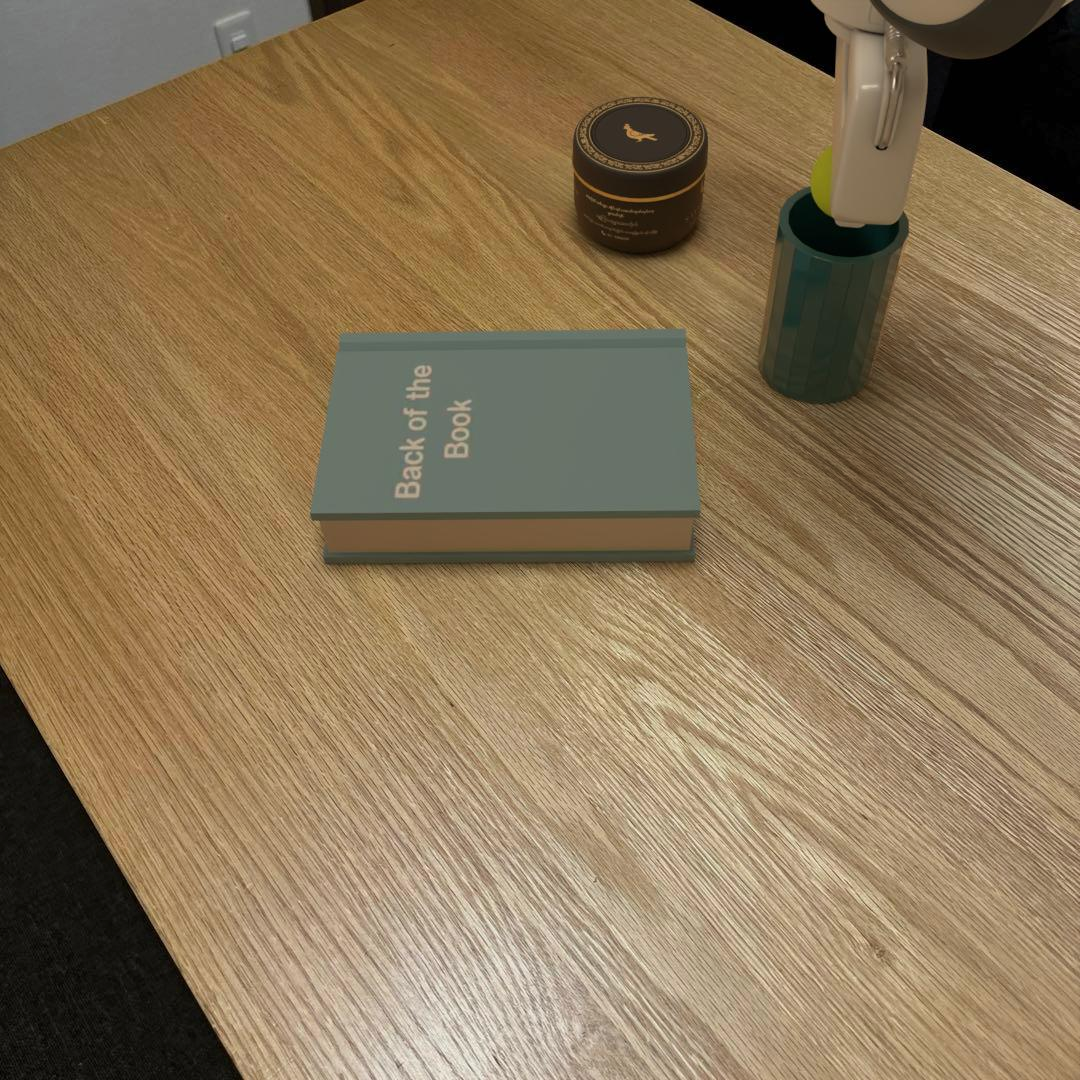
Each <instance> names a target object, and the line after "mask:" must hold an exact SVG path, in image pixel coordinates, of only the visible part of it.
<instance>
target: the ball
mask: <svg viewBox="0 0 1080 1080" xmlns="http://www.w3.org/2000/svg"><path fill="white" fill-rule="evenodd" d="M831 170H832V145H829V146H828V147H827V148H826V149H825V150H824V151H822V152H821V154H820V155H819V156H818V158H817V159H816V161H815V163H814V164H813V167H812V169H811V174H810V180H809V181H810V183H809V184H810V185H809V186H811V192H812V196H813V198H814V200H815V202H816V204H817V205H818V207H819V208H820V209H821V210H822V211H823V212H824V213H826V214H827V215H829V216H831V217H832V215H831V211H830V195H831Z"/></svg>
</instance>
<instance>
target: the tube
mask: <svg viewBox="0 0 1080 1080" xmlns="http://www.w3.org/2000/svg"><path fill="white" fill-rule="evenodd" d="M904 210H905V209H904ZM904 210H903V212H902V214H901V216H900V218H899V219H898V220H897V221H896V222H895V223H893V224H890V225H876V224H865V225H864V226H862V227H859V228H854V227H842V226H839V225H837V224H836V222H835V219H834V218H833V217H831V216H829V215H827V214H826V213H824V212H823V211H822V210H821V209H820V208H819V207H818V205H817V204H816V202H815V200H814V198H813V196H812V192H811V185H809V186H807V187H804V188H801V189H799V190H797V191H795V192H794V193H793V194H792V195H790V196H789V197H788V198H787V199H786V200H785V201H784V203H783V204H782V206H781V208H780V209H779V212H778V219H777V226H776V232H775V238H774V244H773V251H772V258H771V265H770V269H769V277H768V283H767V290H766V296H765V303H764V309H763V317H762V322H761V329H760V336H759V343H758V351H757V366H758V369H759V373H760V375H761V376H762V377H763V379H764V380H765V382H766V383H767V384H768V385H769V386H770V387H771V388H772V389H774V390H775V391H776V392H778V393H780V394H781V395H784V396H785V397H787V398H790V399H792V400H795V401H798V402H803V403H808V404H819V405H820V404H832V403H837V402H841V401H844V400H847V399H850V398H851V397H853V396H855V395H857V394H858V393H860V392H861V390H863V389H864V388H865V387H866V385H867V384H868V382H869V381H870V379H871V376H872V373H873V371H874V367H875V363H876V360H877V356H878V352H879V348H880V345H881V341H882V337H883V334H884V330H885V326H886V321H887V318H888V314H889V311H890V307H891V303H892V299H893V295H894V292H895V289H896V284H897V281H898V277H899V273H900V269H901V265H902V262H903V258H904V254H905V250H906V246H907V244H908V243H907V242H908V239H909V235H910V221H909V218H908V216H907V214H906V212H905V211H904Z"/></svg>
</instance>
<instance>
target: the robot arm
mask: <svg viewBox="0 0 1080 1080" xmlns="http://www.w3.org/2000/svg"><path fill="white" fill-rule="evenodd" d="M810 2H811V3H812V4H813V5H814V6H815V7H816V8H817V9H818V10H819V11H820V12H822V13H823V14H824V21H825V25H826V27H827V29H829V30H830V32H831V33H832V34H833V35H834V36H836V43H835V44H836V45H835V46H836V47H835V68H834V69H835V73H834V94H833V95H834V96H833V97H834V98H833V121H832V145H831V146H832V170H831V195H830V211H831V215H832V217H833V218H834V219H835V222H836V224H837V225H839V226H842V227H854V228H859V227H862V226H864V225H865V224H876V225H890V224H893V223H895V222H896V221H897V220H898V219H899V218H900V216H901V214H902V212H903V210H905V207H906V204H907V200H908V195H909V191H910V186H911V181H912V177H913V172H914V168H915V163H916V158H917V154H918V149H919V146H920V145H919V144H920V141H921V140H920V139H921V135H922V131H923V125H924V119H925V113H926V105H927V98H928V97H927V95H928V85H929V84H928V81H929V78H928V54H927V50H929V51H932V52H933V53H936V54H938V55H941V56H944V57H948V58H953V59H958V60H959V59H960V60H979V59H985V58H988V57H992V56H996V55H998V54H1000V53H1003V52H1005V51H1006V50H1007V51H1008V49H1010V48H1012V47H1013V46H1015V45H1016V44H1017V43H1020V41H1022V40H1023V39H1024V38H1025V37H1027V36H1028V35H1030V33H1033V32H1034V31H1035V30H1036V29H1038V28H1039V27H1041V26H1042V25H1043V24H1045V23H1046V22H1048V21H1049V20H1050V19H1051V18H1052V17H1054V15H1055V14H1057V13H1058V12H1059V11H1060V9H1061V8H1063V7H1065V6H1066V5H1068V4H1070V3H1071V2H1073V0H810Z"/></svg>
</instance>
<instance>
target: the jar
mask: <svg viewBox="0 0 1080 1080" xmlns="http://www.w3.org/2000/svg"><path fill="white" fill-rule="evenodd" d="M708 152H709V134H708V130H707V128H706V126H705V124H704V122H703V121H702V119H701V118H700V117H699V116H698V114H696V113H695V112H694V111H692V110H691V109H690V108H688V107H686V106H684V105H683V104H680V103H678V102H676V101H672V100H669V99H665V98H661V97H660V98H659V97H655V96H626V97H621V98H617V99H612V100H608V101H607V102H603V103H601V104H599V105H597V106H595V107H594V108H592V109H590V110H589V111H588V112H587V113H585V114H584V115H583V116H582V118H581V119H580V120H579V121H578V123H577V125H576V127H575V129H574V133H573V139H572V152H571V166H572V170H573V202H574V208H575V212H576V214H577V218H578V220H579V224H580V225H581V227H582V230H583V231H584V232H585V233H586V234H587V235H588V236H589V237H590V238H591V239H592V240H593V241H594V242H596V243H597V244H599V245H600V246H602V247H604V248H606V249H609V250H612V251H615V252H618V253H619V252H620V253H624V254H632V255H644V254H652V253H657V252H661V251H663V250H666V249H669V248H671V247H673V246H675V245H676V244H678V243H679V242H681V241H682V240H684V238H686V237H687V236H689V234H690V233H691V232H692V230H693V229H694V227H695V225H696V222H697V220H698V218H699V216H700V213H701V210H702V206H703V201H704V191H705V181H706V180H705V179H706V171H707V168H708V161H709V160H708V159H709V153H708Z"/></svg>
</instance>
